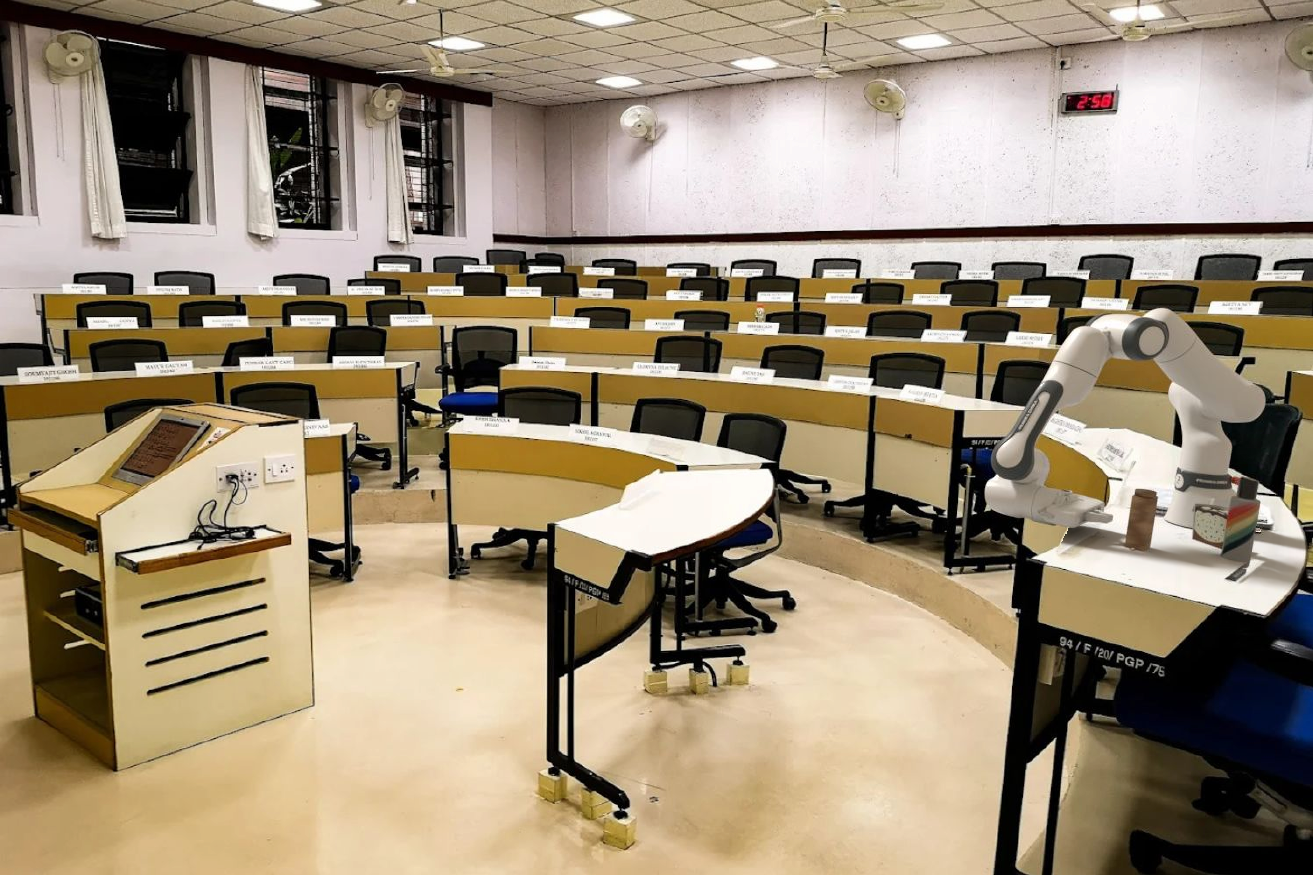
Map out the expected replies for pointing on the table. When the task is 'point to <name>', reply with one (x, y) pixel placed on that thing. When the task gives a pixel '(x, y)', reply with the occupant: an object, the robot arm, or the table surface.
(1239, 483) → the lotion bottle
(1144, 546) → the brown post
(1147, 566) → the table surface
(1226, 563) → the table surface
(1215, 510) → the food container
